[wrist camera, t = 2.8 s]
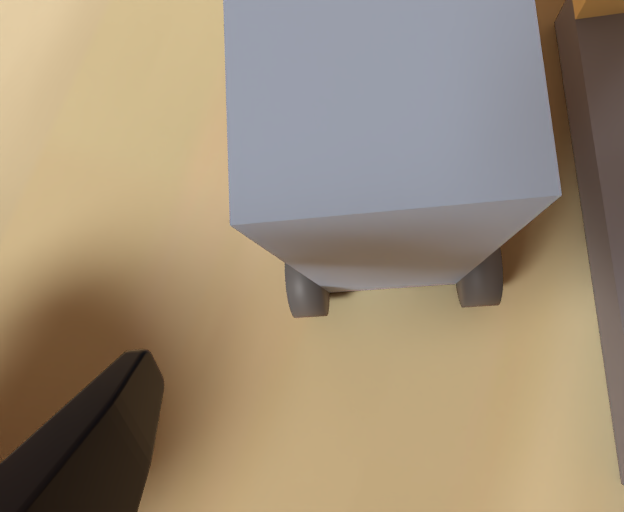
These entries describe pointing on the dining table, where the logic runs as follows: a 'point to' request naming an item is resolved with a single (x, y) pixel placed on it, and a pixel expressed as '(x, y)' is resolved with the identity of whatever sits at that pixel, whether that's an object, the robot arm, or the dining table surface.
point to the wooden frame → (600, 168)
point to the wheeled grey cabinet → (386, 140)
